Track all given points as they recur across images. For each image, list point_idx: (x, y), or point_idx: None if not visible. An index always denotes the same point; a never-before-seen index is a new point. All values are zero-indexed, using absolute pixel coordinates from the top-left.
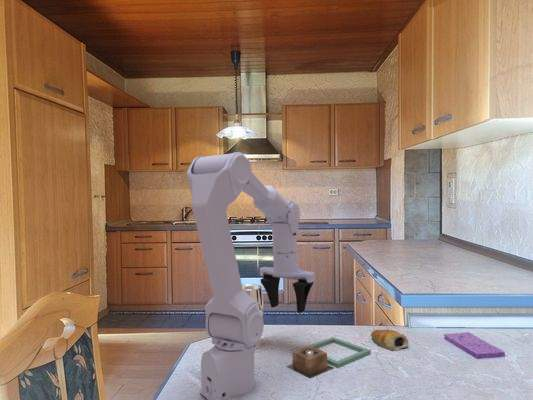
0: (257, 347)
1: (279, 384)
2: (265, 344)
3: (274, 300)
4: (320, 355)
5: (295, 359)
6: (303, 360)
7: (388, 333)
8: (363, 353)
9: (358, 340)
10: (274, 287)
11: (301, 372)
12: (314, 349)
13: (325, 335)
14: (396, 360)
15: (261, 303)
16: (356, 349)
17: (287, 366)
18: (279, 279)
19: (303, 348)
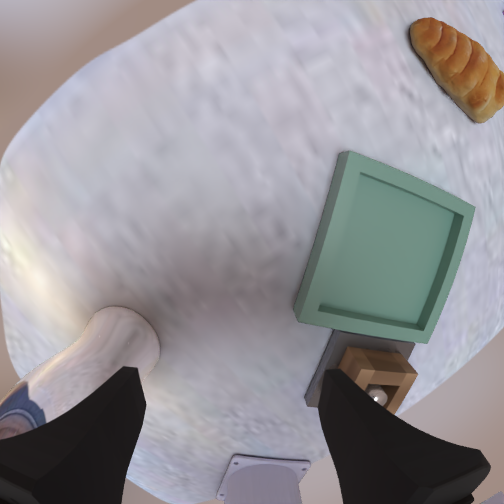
0: (154, 358)
1: (318, 433)
2: (129, 284)
3: (133, 419)
4: (406, 394)
5: None
6: None
7: (489, 87)
8: (466, 240)
9: (385, 70)
10: (102, 476)
11: None
12: (382, 379)
13: (264, 73)
14: (496, 177)
15: None
16: (440, 205)
17: (311, 405)
18: (56, 473)
19: None
